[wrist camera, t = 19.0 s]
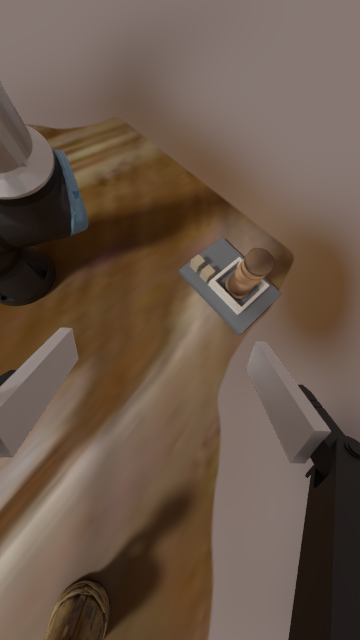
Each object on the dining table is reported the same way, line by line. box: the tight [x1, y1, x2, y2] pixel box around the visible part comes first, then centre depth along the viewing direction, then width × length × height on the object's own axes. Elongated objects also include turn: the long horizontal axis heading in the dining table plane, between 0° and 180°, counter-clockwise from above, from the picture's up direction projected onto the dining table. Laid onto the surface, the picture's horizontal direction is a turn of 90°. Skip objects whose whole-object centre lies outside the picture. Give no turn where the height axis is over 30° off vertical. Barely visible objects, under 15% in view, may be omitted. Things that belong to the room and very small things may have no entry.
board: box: [179, 237, 281, 335], centre depth 47 cm, size 22×16×4 cm
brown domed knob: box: [224, 248, 274, 300], centre depth 42 cm, size 7×7×12 cm
